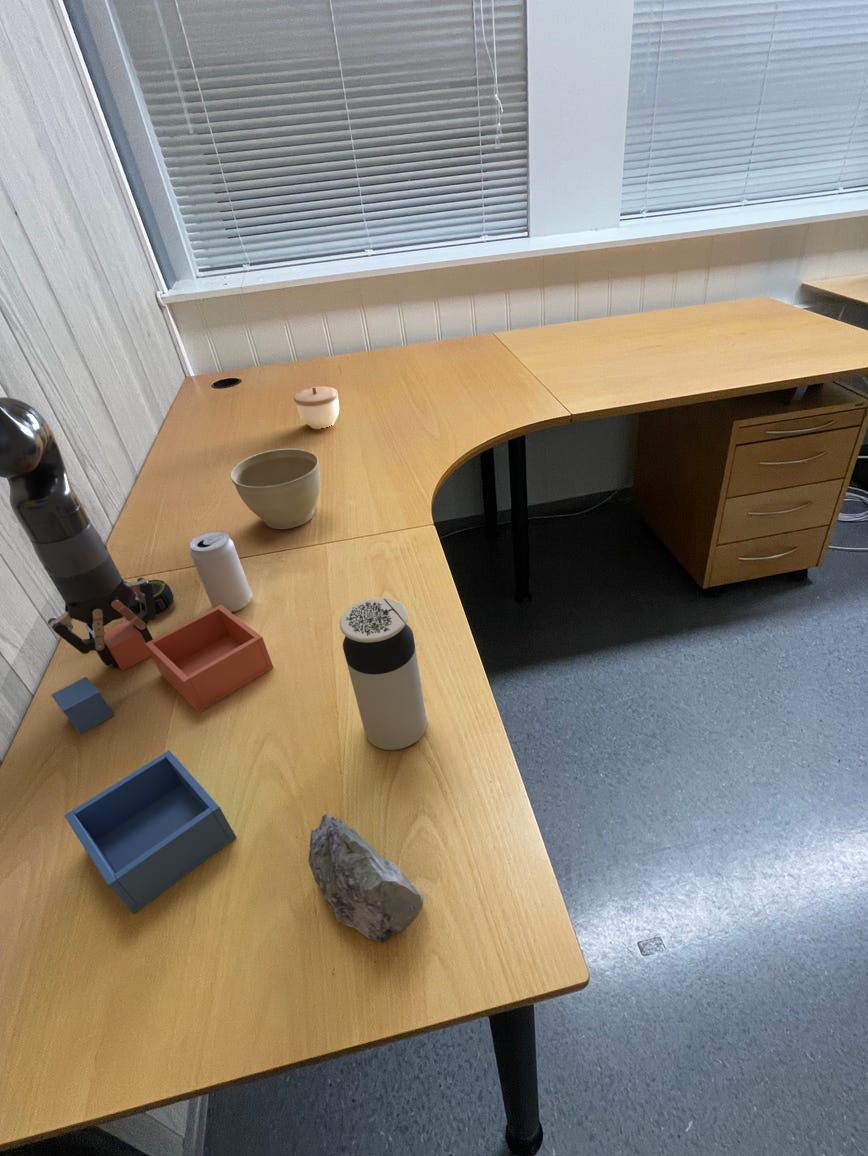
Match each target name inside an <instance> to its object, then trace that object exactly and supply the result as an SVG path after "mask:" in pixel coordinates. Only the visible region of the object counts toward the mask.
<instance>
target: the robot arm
mask: <svg viewBox="0 0 868 1156" xmlns="http://www.w3.org/2000/svg"><path fill="white" fill-rule="evenodd" d="M0 478H4V479H6V480H7V482H8V486H9V505H10V508H11V510H12V512H13V514H14V516H15V518H16V519H17V521H18V523H19V524H20V526H21V528H22V529H23V531H24V532H25V534H26V536H27V538H28V539H29V542H30V543H31V545H32V547H33V550H34V553H35V554H36V555H35V556H37V558H38V560H39V562H40V564H41V565H42V567H43V569H44V571H46V573H47V576H48V577H49V578H50V580H51V582H52V583H53V585H54V586H55V589H56V590H57V592H58V594H59V595H60V596H61V598H62V599H63V602H64V611H65V612H63V613H62V614H61V615H59V616H58V617H57V618H55V617H51V618H49V619H48V621H47V624H48V626H49V627H50V628H51V630H53V632H54V633H55V634H57V635H58V636H59V637H60V638H62V639H63V640H64V641H66V642H67V643H68V644H70V645H71V646H72V647H73V648H75V650H77V651H79V653H81V654H82V655H86V654H89V653H90V652H92V651H95V653H96V654H97V656H98V657H99V659H100V660H101V662H102V663H104V665H105V666H107V667H110V666H112V668H113V669H115V668H116V667H119V666H118V664H117V662H116V661H115V659H114V657H113V656H112V654H111V652H110V650H109V649H108V647H107V646H106V645H105V643H104V635H105V633H104V631H105V626H108V625H109V624H110V623H111V622H113V621H116V620H120V619H122V618H125V619H126V621H127V620H128V621H129V622H130V623H131V624H132V625H133V626H134V627H135V628H136V629H137V630H138V631H139V632H140V633H141V635H142V636H143V638H144V640H145V642H146V643H147V642H149V641H151V640H153V639H154V638H153V636H152V634H151V632H150V630H149V628H148V624H149V622H151V621H154V620H155V619H157V615H156V610H155V602H154V594H153V586H152V584H150V583H149V582H148V581H149V580H147V579H146V578H145V577H143V576H141V577H138V578H137V580H136V581H132V582H127V581H125V580H124V579H123V577H122V575H121V573H120V571H119V570H118V568H117V565H116V563H115V562H114V560H113V558H112V556H111V554H110V552H109V550H108V546H107V544H106V542H105V541H104V540H103V539H102V536H101V535H100V533H99V532H98V530H97V528H95V526H94V524H93V523H92V522H91V520H90V518H89V516H88V515H87V512H86V511H85V508H84V507H83V505H82V503H81V501H80V499H79V498H78V495H77V494H76V492H75V491H74V489H73V487H72V484H71V481H70V479H69V474H68V471H67V468H66V465H65V462H64V460H63V455H62V453H61V450H60V448H59V444H58V443H57V439H56V437H55V435H54V433H53V430H52V428H51V427H50V425H49V424H48V422H47V421H46V419H45V418H44V416H43V415H42V414H41V413H40V412H39V411H38V410H37V409H36V408H34V407H33V406H32V405H30V404H29V403H27V402H26V401H22V400H21V399H17V398H13V397H7V396H5V397H4V396H2V397H1V396H0ZM132 591H134V593H135V594H136V595H137V596H139V602H140V609H141V612H140V613H139V614H138V615H136V614H135V613H134V612H132V611H131V610H130V609H129V608H128V604H129V600H130V597H131V593H132ZM72 620H76V621H79V622H81V623H83V624H85V628H86V630H87V637H88V638H85V639H82V638H81V637H80V636H79V635H77V634H76V633H75V632H74V631H72V630H73V628H74V625H73V624H72Z"/></svg>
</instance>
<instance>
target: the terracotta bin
mask: <svg viewBox="0 0 868 1156" xmlns="http://www.w3.org/2000/svg"><path fill="white" fill-rule="evenodd" d="M145 645H146V647H147V649H148V651H149V653H150V655H151V656H150V658H151V659H152V660H153V662H154V664H155V666H156V668H157V669H158V672H159V673H160V675H161V676H162V677H163V678H164V679H165V680H166V681H167V682H168V683H169V685H170V686H172V687H173V688H174V690H176V692H178V693H179V694H180V695H181V696H182V697H183V698H184V699H185V700H186V702H188V703H189V704H190V705H191V706H192V708H194V709H195V711H197V712H198V713H201V712H203V711H204V710H206V709H208V708H209V707H211V706H213V705H214V704H216V703H218V702H219V701H220V700H222V699H224V698H226V697H227V696H229V695H231V694H232V693H234V692H236V691H238V690H239V689H240V688H242V687H244V686H246V685H248V684H249V683H251V682H252V681H254V680H255V679H257V678H259V677H260V676H262V675H264V674H265V673H267V672H268V671H270V670H272V669H274V665H273V662H272V659H271V657H270V654H269V651H268V649H267V645H266V643H265V641H264V637H263V636H262V635H260V634H259V632H257V631H256V630H254V629H253V628H252V627H250V626H249V625H248V624H246V623H245V622H244V621H242V620H241V619H240V618H239V617H237V616H236V615H235V614H233V612H230V611H228V610H227V609H226V608H224V607H223V606H222V605H219V606H217V607H215V608H213V607H212V608H211V609H209V610H208V611H205V612H203V613H201V614H199V615H197V616H195V617H193V618H192V619H190V620H188V621H186V622H183V623H182V624H181V625H178V626H177V627H175V628H173V629H170V630H169V631H166V632H165V633H163V634H161V635H159V636H157V637H155V638H153V640H151V641H149V642H147V643H145Z"/></svg>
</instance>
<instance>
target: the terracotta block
mask: <svg viewBox="0 0 868 1156" xmlns="http://www.w3.org/2000/svg"><path fill="white" fill-rule="evenodd" d="M104 633H105V635H104V643H105V645H106V646H107V647H108V649H109V650H110V652H111V654H112V656H113V657H114V659H115V661H116V662H117V664H118V666H117V667H119V669H120V670H121V671H122V672H124V671H127V669H130V668H131V667H134V666H135V665H137V664H139V663H141V662H142V661H145V660H146V659H148V658H151V655H150V653H149V651H148V649H147V647H146V645H145V643H146V642H145V640H144V638H143V636H142V635H141V633H140V632H139V631H138V630H137V629H136V628H135V627H134V626H133V624H132V623H131V622H130V621H129V620H127V619H126V620H125V621H123V622H121V623H118V624H117V625H115V626H112V627H111V628H109V629H106V630H104Z"/></svg>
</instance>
